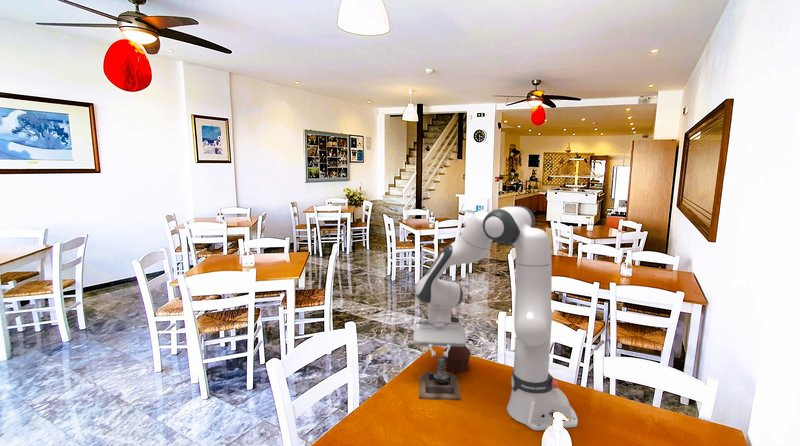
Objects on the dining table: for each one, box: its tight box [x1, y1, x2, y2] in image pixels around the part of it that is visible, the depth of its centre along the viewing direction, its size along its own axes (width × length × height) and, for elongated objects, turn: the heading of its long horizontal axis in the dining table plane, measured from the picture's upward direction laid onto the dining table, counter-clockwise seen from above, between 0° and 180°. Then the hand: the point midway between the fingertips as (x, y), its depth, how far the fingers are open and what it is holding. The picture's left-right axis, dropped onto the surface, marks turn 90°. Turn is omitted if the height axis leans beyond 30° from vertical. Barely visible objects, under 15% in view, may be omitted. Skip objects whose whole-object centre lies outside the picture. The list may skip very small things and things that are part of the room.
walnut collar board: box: [418, 371, 462, 401], centre depth 148 cm, size 15×15×4 cm
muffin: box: [443, 345, 472, 373], centre depth 163 cm, size 12×11×10 cm
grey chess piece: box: [434, 354, 449, 386], centre depth 149 cm, size 6×6×12 cm
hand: (439, 356), depth 146 cm, fingers open, 3 cm apart
